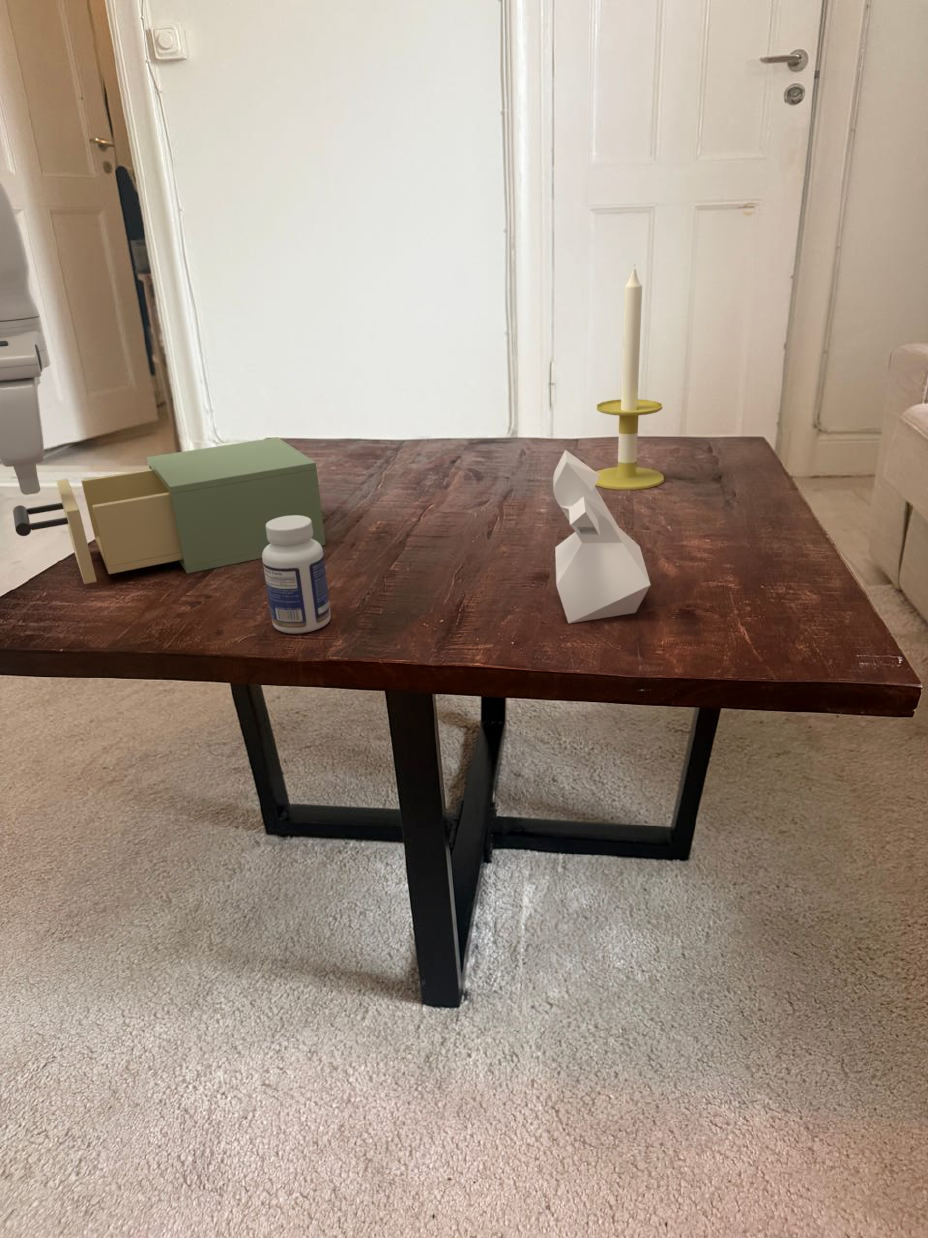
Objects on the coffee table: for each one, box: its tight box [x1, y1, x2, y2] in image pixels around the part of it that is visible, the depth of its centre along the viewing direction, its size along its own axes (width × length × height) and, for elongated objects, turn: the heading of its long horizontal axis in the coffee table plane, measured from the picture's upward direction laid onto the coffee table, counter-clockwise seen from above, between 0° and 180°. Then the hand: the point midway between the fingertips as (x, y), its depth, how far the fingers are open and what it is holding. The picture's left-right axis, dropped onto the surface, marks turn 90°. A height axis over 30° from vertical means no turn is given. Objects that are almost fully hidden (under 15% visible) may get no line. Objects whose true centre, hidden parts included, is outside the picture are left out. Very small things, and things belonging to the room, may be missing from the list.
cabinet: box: [146, 437, 326, 574], centre depth 99 cm, size 16×15×10 cm
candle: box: [595, 263, 665, 491], centre depth 111 cm, size 10×10×27 cm
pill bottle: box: [261, 515, 332, 635], centre depth 77 cm, size 5×5×10 cm
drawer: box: [12, 468, 183, 585], centre depth 94 cm, size 19×13×8 cm
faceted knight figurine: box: [552, 449, 651, 624], centre depth 79 cm, size 8×14×14 cm, turn 175°
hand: (30, 490), depth 89 cm, fingers closed
